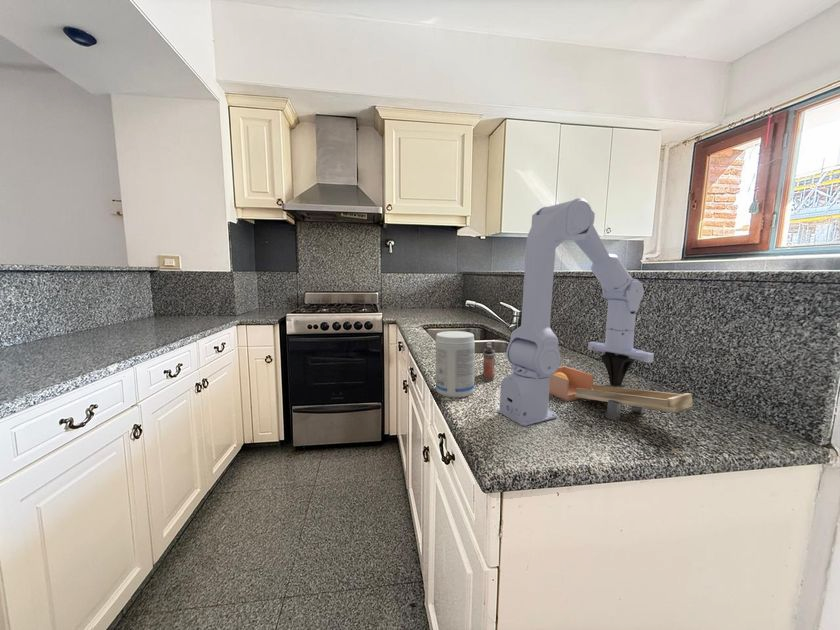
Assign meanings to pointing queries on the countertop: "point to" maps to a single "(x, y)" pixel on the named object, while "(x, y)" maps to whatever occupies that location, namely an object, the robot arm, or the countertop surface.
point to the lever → (637, 397)
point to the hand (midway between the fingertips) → (615, 384)
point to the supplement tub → (455, 363)
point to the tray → (569, 383)
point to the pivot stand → (619, 410)
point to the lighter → (488, 362)
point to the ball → (561, 375)
